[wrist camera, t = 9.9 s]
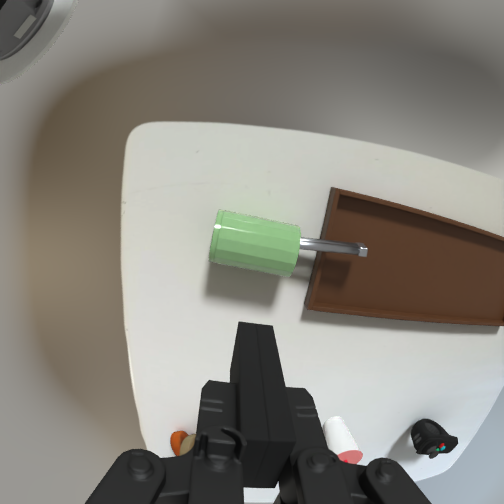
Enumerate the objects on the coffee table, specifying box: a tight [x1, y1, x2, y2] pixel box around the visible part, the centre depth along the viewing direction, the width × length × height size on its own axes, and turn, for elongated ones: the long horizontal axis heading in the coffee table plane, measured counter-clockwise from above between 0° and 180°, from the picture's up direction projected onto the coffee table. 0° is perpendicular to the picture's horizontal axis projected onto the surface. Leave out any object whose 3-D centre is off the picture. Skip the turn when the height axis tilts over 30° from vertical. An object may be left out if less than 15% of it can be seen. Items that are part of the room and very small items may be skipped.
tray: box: [305, 187, 504, 326], centre depth 39 cm, size 41×15×2 cm, turn 80°
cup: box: [324, 417, 363, 464], centre depth 41 cm, size 5×5×12 cm
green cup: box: [209, 210, 301, 277], centre depth 35 cm, size 6×6×9 cm
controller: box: [411, 419, 458, 459], centre depth 44 cm, size 4×12×10 cm, turn 64°
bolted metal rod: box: [300, 237, 368, 257], centre depth 35 cm, size 2×1×16 cm
